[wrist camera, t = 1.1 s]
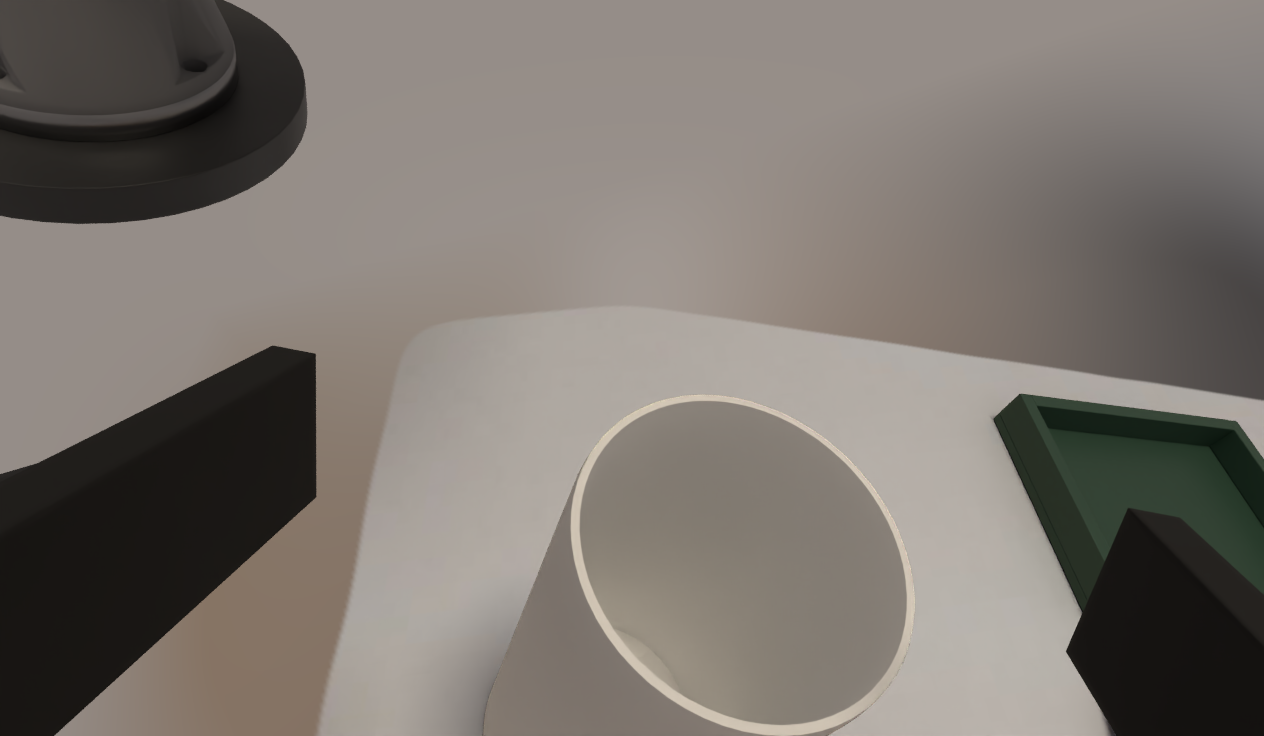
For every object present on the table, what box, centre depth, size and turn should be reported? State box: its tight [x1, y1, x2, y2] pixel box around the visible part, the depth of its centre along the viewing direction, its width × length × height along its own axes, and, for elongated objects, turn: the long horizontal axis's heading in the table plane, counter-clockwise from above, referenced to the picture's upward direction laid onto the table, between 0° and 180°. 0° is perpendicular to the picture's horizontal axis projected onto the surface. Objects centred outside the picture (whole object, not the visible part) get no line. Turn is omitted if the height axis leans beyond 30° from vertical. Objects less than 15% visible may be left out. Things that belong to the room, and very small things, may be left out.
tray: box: [994, 394, 1264, 611], centre depth 43 cm, size 17×13×3 cm
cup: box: [483, 395, 915, 736], centre depth 22 cm, size 8×8×16 cm
